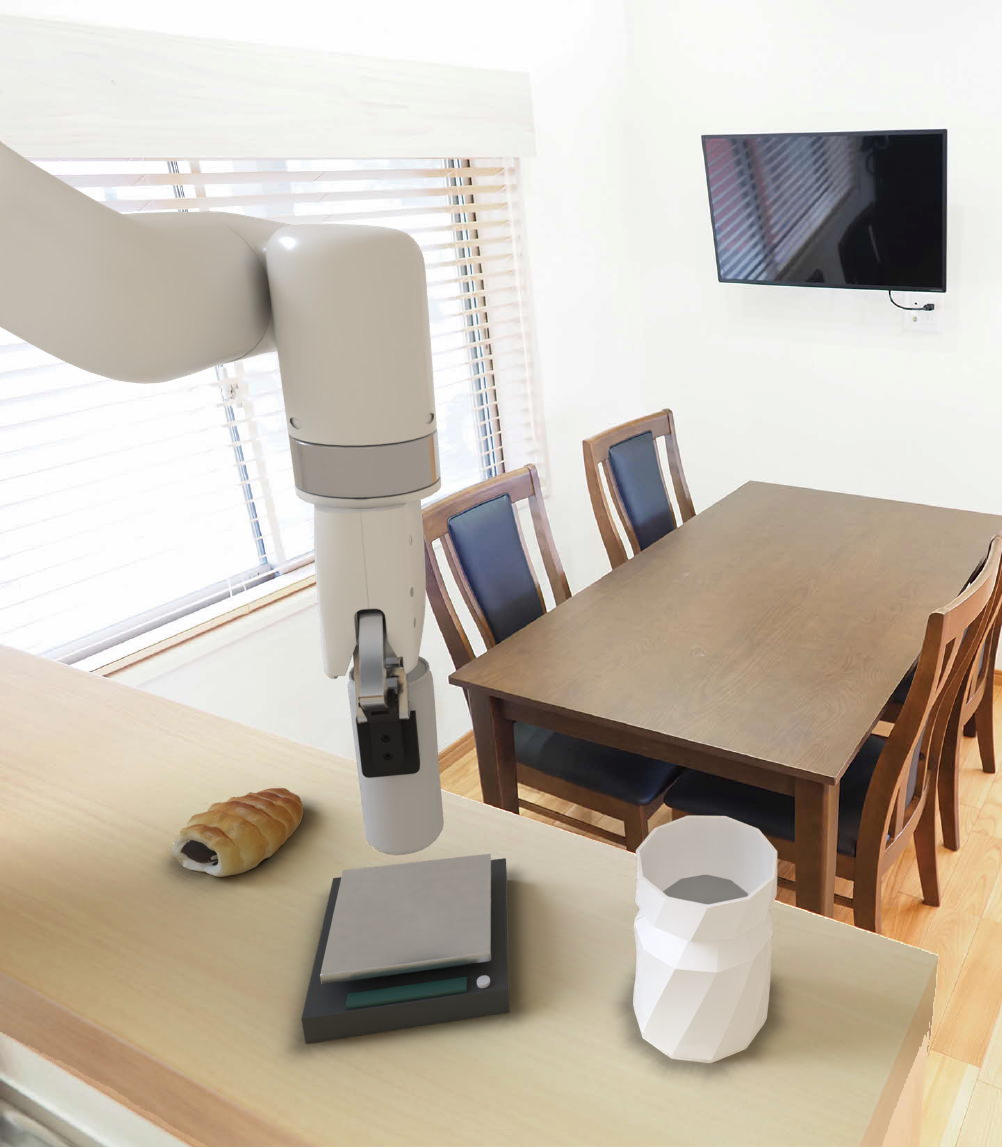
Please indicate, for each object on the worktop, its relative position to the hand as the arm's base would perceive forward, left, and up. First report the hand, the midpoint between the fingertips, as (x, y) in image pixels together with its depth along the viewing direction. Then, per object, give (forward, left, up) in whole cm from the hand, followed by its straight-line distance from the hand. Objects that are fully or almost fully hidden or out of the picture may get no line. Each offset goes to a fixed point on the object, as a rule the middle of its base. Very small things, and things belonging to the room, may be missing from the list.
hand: (396, 745), depth 60 cm
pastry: (-14, +14, -17) cm, 26 cm away
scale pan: (0, 0, -13) cm, 13 cm away
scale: (0, 0, -17) cm, 17 cm away
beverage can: (0, 0, -7) cm, 7 cm away
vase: (+18, -9, -17) cm, 26 cm away
